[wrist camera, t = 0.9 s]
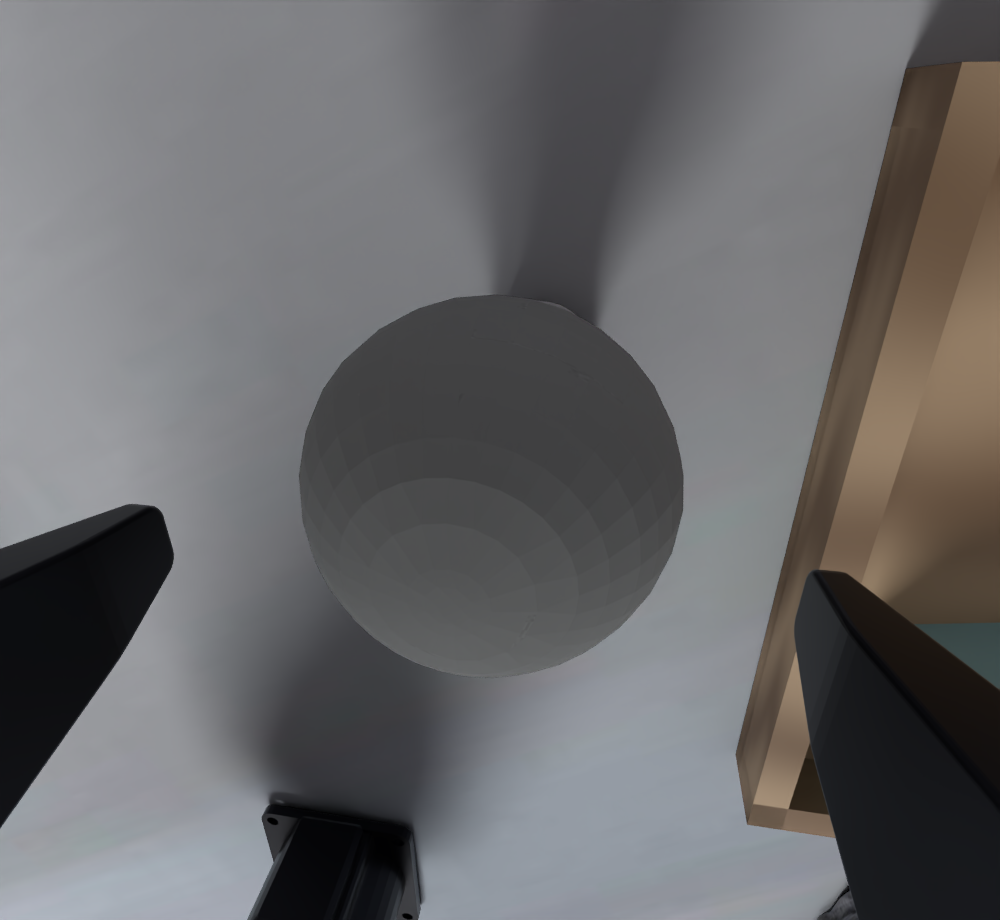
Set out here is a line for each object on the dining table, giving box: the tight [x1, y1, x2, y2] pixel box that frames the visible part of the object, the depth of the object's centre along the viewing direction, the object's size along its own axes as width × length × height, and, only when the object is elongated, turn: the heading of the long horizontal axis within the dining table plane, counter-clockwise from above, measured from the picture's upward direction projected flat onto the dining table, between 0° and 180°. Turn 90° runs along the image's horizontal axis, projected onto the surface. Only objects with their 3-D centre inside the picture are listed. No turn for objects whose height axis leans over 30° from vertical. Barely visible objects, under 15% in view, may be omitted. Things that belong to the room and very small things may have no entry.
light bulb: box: [299, 295, 683, 678], centre depth 12 cm, size 6×6×10 cm
